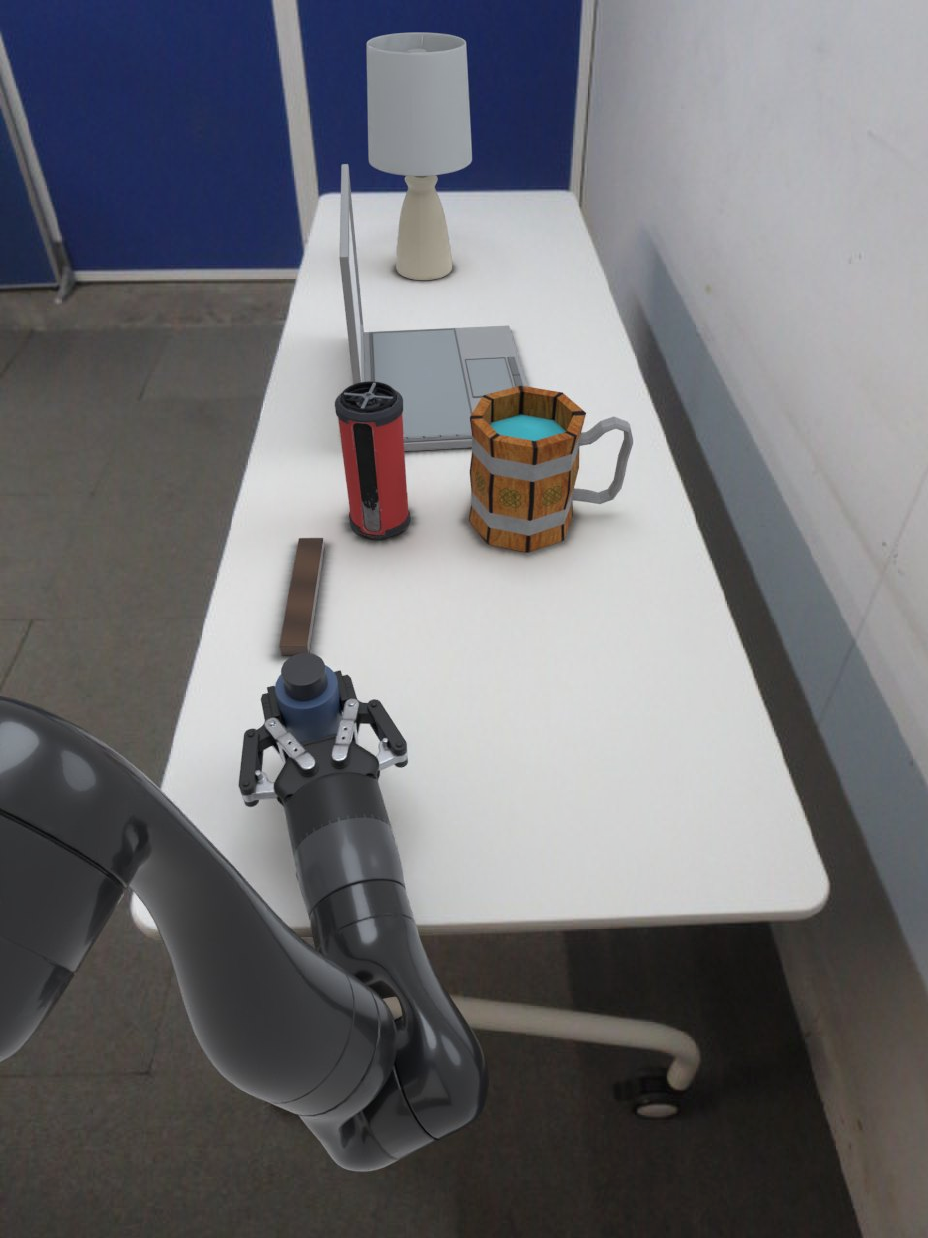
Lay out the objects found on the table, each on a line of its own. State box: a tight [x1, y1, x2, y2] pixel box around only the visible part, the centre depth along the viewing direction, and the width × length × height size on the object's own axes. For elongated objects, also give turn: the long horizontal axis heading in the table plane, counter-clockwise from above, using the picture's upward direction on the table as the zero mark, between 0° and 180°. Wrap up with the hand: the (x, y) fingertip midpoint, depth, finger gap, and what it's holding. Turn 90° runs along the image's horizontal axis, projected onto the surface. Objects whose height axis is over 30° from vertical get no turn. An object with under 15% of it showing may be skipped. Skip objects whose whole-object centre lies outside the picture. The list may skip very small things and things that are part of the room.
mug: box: [468, 386, 634, 553], centre depth 98 cm, size 20×14×15 cm
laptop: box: [338, 163, 529, 452], centre depth 116 cm, size 35×26×27 cm
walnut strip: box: [278, 537, 326, 656], centre depth 92 cm, size 18×3×2 cm, turn 2°
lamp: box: [366, 32, 473, 281], centre depth 145 cm, size 19×19×37 cm
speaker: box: [334, 381, 411, 539], centre depth 96 cm, size 8×8×18 cm
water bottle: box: [275, 652, 343, 742], centre depth 70 cm, size 5×5×12 cm
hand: (305, 685), depth 71 cm, fingers closed on water bottle, 5 cm apart
